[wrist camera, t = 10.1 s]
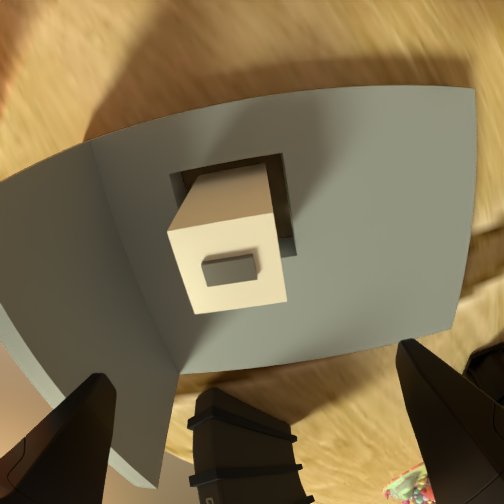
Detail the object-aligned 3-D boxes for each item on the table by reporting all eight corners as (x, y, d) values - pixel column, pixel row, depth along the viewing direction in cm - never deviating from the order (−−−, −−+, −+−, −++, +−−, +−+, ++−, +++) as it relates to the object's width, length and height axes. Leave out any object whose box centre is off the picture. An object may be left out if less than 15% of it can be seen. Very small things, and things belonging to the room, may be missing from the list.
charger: (264, 163, 19) (273, 215, 11) (275, 224, 20) (287, 306, 13) (198, 175, 19) (164, 234, 12) (213, 234, 21) (194, 318, 14)
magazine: (185, 381, 25) (239, 547, 16) (279, 389, 34) (327, 505, 25) (162, 397, 27) (208, 549, 17) (255, 402, 36) (299, 513, 26)
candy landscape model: (503, 435, 43) (517, 468, 34) (439, 485, 53) (447, 514, 45) (425, 452, 40) (438, 497, 32) (358, 500, 51) (364, 535, 42)
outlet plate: (452, 86, 16) (610, 121, 5) (439, 310, 24) (505, 425, 13) (81, 142, 18) (-67, 222, 7) (162, 353, 26) (129, 485, 15)
